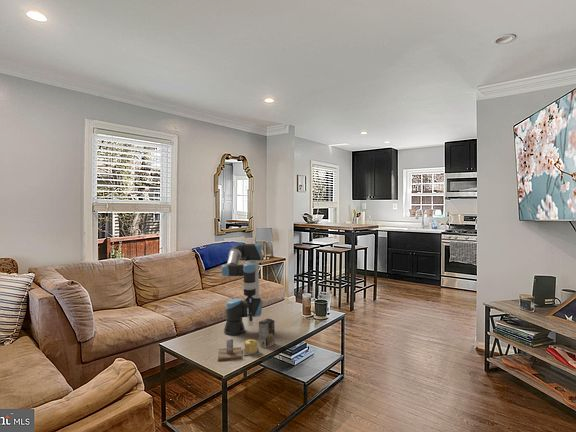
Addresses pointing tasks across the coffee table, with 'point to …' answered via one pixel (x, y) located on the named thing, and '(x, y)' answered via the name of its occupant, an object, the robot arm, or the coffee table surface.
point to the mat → (251, 354)
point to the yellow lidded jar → (250, 346)
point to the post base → (229, 352)
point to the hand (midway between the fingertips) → (250, 322)
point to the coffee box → (266, 333)
